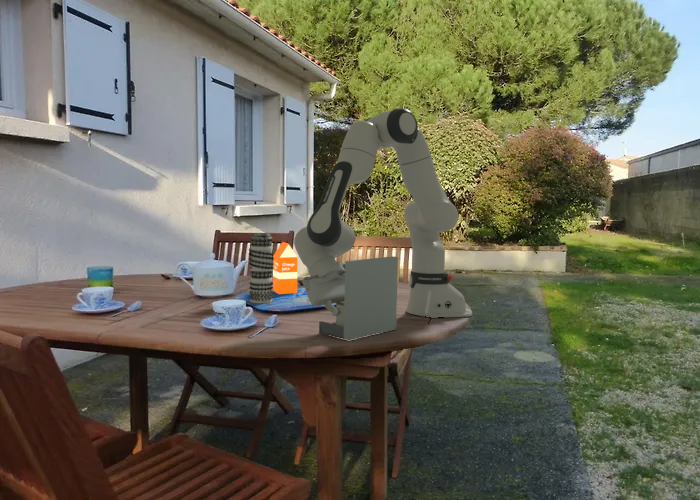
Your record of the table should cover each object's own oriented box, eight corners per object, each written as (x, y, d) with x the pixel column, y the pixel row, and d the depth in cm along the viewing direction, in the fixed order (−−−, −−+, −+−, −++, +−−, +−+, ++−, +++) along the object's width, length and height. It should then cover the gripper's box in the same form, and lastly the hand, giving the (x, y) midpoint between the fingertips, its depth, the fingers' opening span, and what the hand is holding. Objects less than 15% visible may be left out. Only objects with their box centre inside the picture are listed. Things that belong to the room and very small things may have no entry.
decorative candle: (244, 299, 209) (245, 232, 206) (268, 298, 213) (268, 232, 211) (253, 304, 201) (253, 234, 198) (277, 302, 205) (278, 234, 203)
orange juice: (278, 294, 222) (279, 243, 220) (272, 290, 230) (273, 241, 228) (297, 293, 225) (298, 243, 223) (290, 289, 233) (291, 241, 231)
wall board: (366, 323, 176) (368, 253, 174) (395, 330, 167) (398, 257, 165) (319, 333, 162) (320, 257, 159) (348, 341, 153) (350, 261, 151)
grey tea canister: (349, 329, 165) (349, 299, 164) (362, 332, 161) (363, 302, 160) (335, 332, 161) (336, 301, 160) (349, 336, 157) (350, 304, 156)
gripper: (305, 270, 157) (328, 311, 151) (355, 265, 171) (379, 301, 166) (294, 284, 160) (317, 324, 155) (345, 278, 175) (367, 314, 169)
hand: (349, 312), depth 160 cm, fingers open, 8 cm apart
